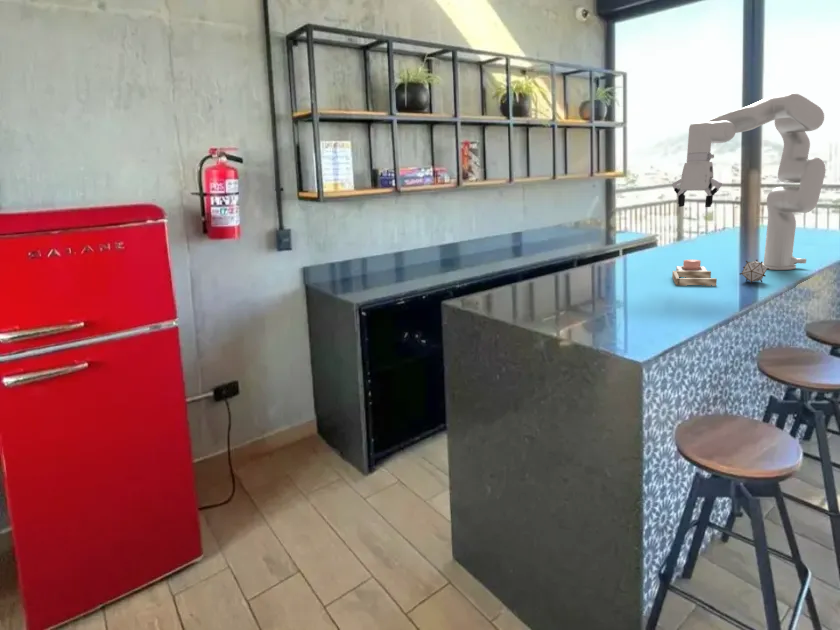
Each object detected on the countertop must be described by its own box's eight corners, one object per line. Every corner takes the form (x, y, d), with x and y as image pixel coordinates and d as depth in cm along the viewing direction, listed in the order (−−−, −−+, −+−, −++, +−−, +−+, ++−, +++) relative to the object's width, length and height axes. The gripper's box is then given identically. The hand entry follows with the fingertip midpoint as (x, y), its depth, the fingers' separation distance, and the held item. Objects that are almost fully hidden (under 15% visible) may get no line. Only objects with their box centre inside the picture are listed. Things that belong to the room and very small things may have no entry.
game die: (758, 293, 208) (775, 273, 201) (734, 284, 209) (751, 265, 202) (756, 276, 214) (773, 257, 206) (734, 269, 215) (749, 249, 207)
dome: (699, 267, 228) (699, 259, 227) (701, 270, 222) (701, 262, 222) (682, 267, 230) (682, 259, 229) (683, 270, 224) (684, 262, 224)
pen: (710, 277, 220) (710, 271, 219) (716, 285, 206) (716, 279, 205) (672, 277, 224) (672, 270, 224) (675, 285, 210) (676, 278, 209)
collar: (703, 272, 230) (704, 266, 229) (707, 277, 221) (707, 270, 220) (676, 272, 233) (676, 266, 232) (678, 277, 224) (678, 270, 223)
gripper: (727, 157, 204) (723, 206, 209) (679, 159, 217) (676, 205, 221) (718, 157, 200) (714, 208, 204) (669, 159, 212) (666, 206, 217)
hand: (694, 206), depth 213 cm, fingers open, 9 cm apart
